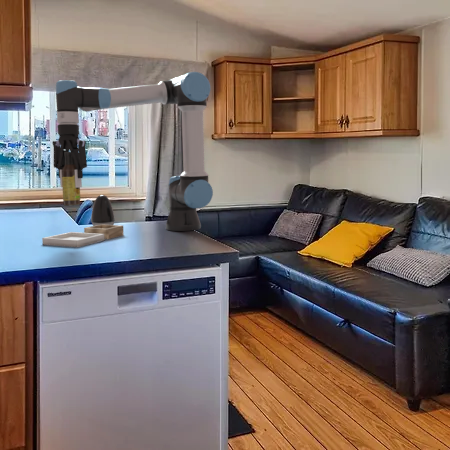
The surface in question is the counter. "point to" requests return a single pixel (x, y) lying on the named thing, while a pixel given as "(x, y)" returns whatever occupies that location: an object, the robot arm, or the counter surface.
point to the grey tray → (73, 239)
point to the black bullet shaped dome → (102, 212)
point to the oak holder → (106, 230)
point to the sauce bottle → (69, 182)
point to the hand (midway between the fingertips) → (71, 187)
